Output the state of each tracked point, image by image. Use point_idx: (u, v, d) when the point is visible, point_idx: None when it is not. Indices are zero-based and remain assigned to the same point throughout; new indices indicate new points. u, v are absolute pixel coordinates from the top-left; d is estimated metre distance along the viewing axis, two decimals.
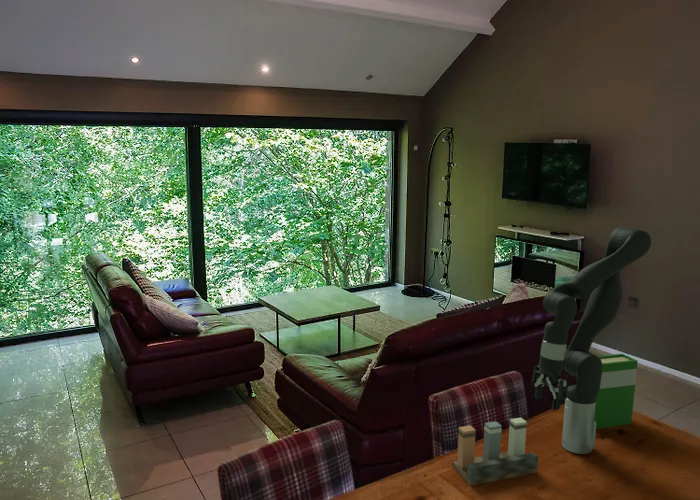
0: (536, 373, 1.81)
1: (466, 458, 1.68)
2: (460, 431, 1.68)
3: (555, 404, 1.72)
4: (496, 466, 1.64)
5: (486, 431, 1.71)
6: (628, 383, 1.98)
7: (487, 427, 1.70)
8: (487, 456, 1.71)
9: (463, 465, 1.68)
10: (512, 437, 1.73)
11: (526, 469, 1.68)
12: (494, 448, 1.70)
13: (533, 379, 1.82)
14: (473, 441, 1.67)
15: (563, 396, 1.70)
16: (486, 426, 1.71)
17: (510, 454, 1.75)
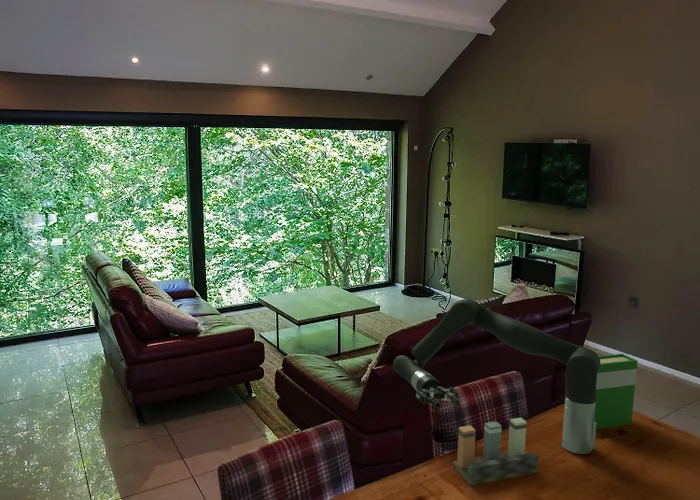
0: None
1: (466, 458, 1.68)
2: (460, 431, 1.68)
3: None
4: (496, 466, 1.64)
5: (486, 431, 1.71)
6: (628, 383, 1.98)
7: (487, 427, 1.70)
8: (487, 456, 1.71)
9: (463, 465, 1.68)
10: (512, 437, 1.73)
11: (526, 469, 1.68)
12: (494, 448, 1.70)
13: None
14: (473, 441, 1.67)
15: None
16: (486, 426, 1.71)
17: (510, 454, 1.75)
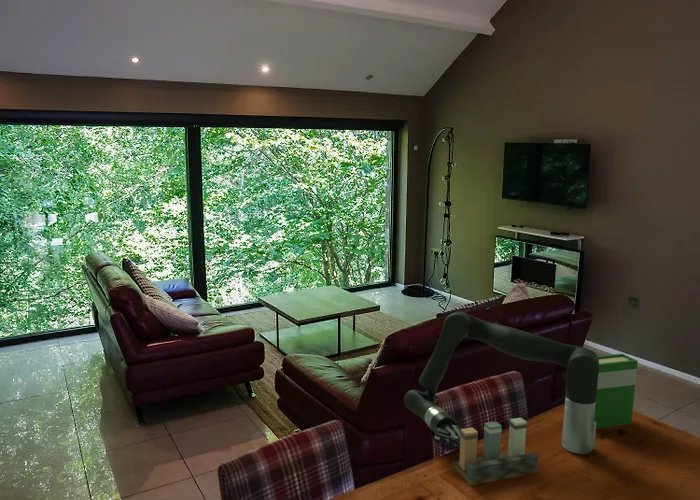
0: None
1: (468, 460, 1.66)
2: (462, 433, 1.66)
3: None
4: (496, 466, 1.64)
5: (486, 431, 1.71)
6: (628, 383, 1.98)
7: (487, 427, 1.70)
8: (487, 456, 1.71)
9: (465, 467, 1.66)
10: (512, 437, 1.73)
11: (526, 469, 1.68)
12: (494, 448, 1.70)
13: None
14: (475, 443, 1.66)
15: None
16: (486, 426, 1.71)
17: (510, 454, 1.75)
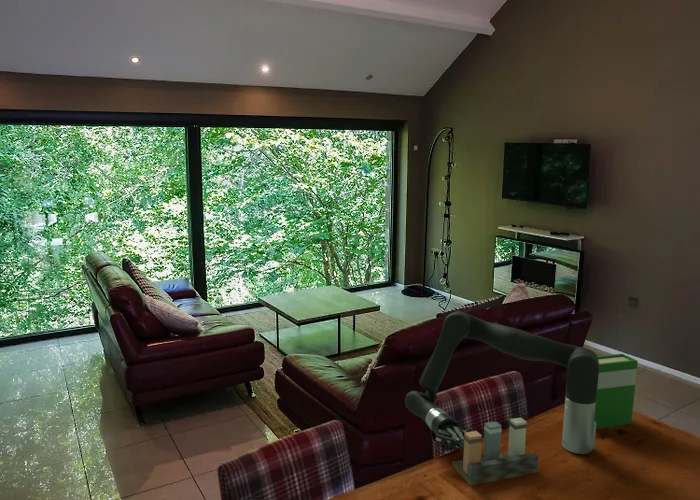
0: None
1: None
2: (466, 437, 1.64)
3: None
4: (496, 466, 1.64)
5: (486, 431, 1.71)
6: (628, 383, 1.98)
7: (487, 427, 1.70)
8: (487, 456, 1.71)
9: None
10: (512, 437, 1.73)
11: (526, 469, 1.68)
12: (494, 448, 1.70)
13: None
14: (479, 447, 1.64)
15: None
16: (486, 426, 1.71)
17: (510, 454, 1.75)
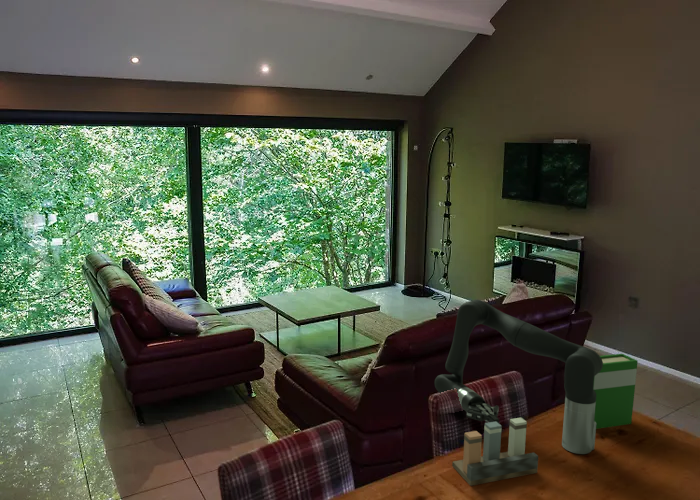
0: (494, 413, 1.94)
1: None
2: (466, 437, 1.64)
3: None
4: (496, 466, 1.64)
5: (486, 431, 1.71)
6: (628, 383, 1.98)
7: (487, 427, 1.70)
8: (487, 456, 1.71)
9: None
10: (512, 437, 1.73)
11: (526, 469, 1.68)
12: (494, 448, 1.70)
13: None
14: (479, 447, 1.64)
15: None
16: (486, 426, 1.71)
17: (510, 454, 1.75)
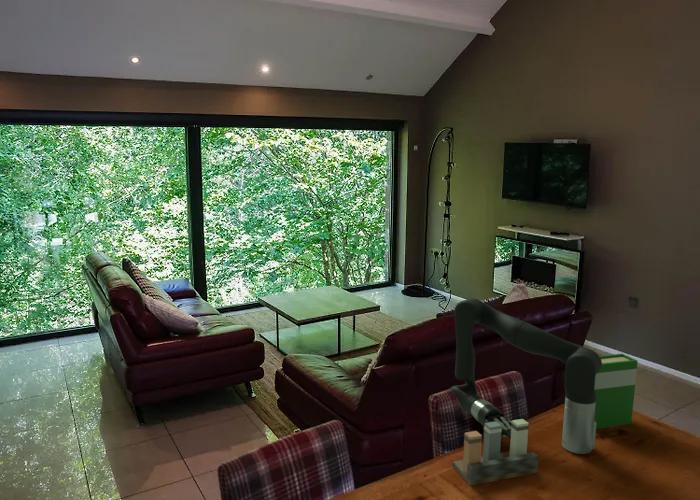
0: None
1: None
2: (466, 437, 1.64)
3: None
4: (496, 466, 1.64)
5: (486, 431, 1.71)
6: (628, 383, 1.98)
7: (487, 427, 1.70)
8: (487, 456, 1.71)
9: None
10: (514, 438, 1.72)
11: (526, 469, 1.68)
12: (494, 448, 1.70)
13: None
14: (479, 447, 1.64)
15: None
16: (486, 426, 1.71)
17: None
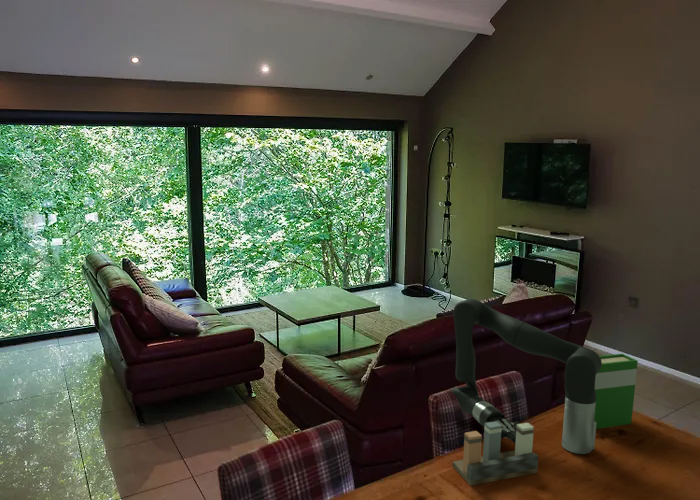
0: None
1: None
2: (466, 437, 1.64)
3: None
4: (496, 466, 1.64)
5: (486, 431, 1.71)
6: (628, 383, 1.98)
7: (487, 427, 1.70)
8: (487, 456, 1.71)
9: None
10: (519, 443, 1.70)
11: (526, 469, 1.68)
12: (494, 448, 1.70)
13: None
14: (479, 447, 1.64)
15: None
16: (486, 426, 1.71)
17: None
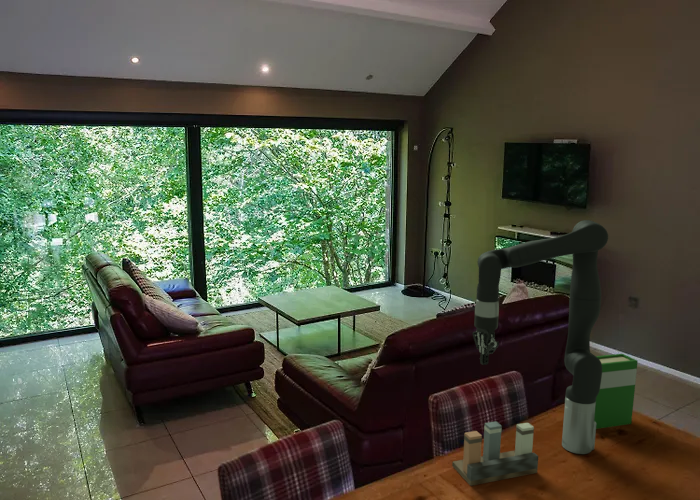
0: (476, 337, 1.87)
1: None
2: (466, 437, 1.64)
3: (483, 359, 1.83)
4: (496, 466, 1.64)
5: (486, 431, 1.71)
6: (628, 383, 1.98)
7: (487, 427, 1.70)
8: (487, 456, 1.71)
9: None
10: (519, 443, 1.70)
11: (526, 469, 1.68)
12: (494, 448, 1.70)
13: (477, 345, 1.85)
14: (479, 447, 1.64)
15: (490, 351, 1.81)
16: (486, 426, 1.71)
17: None
